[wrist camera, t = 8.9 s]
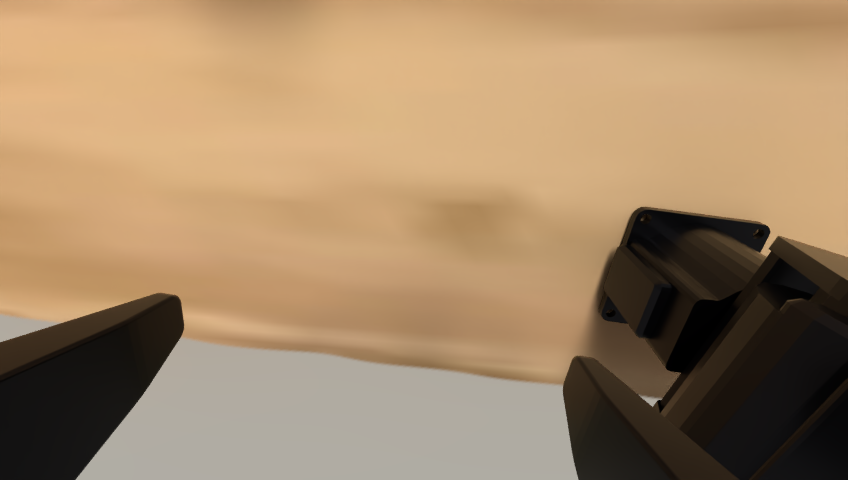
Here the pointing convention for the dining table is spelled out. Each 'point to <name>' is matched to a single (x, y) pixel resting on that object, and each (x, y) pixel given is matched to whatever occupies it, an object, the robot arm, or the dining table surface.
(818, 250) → the robot arm
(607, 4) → the dining table surface
